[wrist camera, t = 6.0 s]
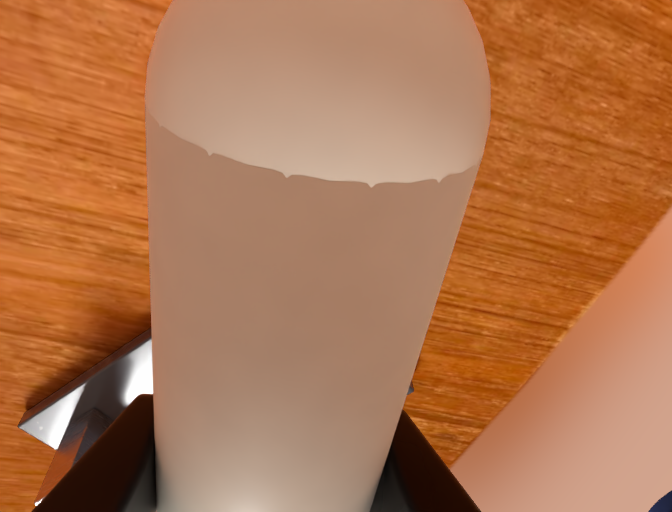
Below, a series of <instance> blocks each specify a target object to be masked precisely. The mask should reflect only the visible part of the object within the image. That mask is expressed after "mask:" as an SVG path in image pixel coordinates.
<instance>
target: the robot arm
mask: <svg viewBox="0 0 672 512" xmlns="http://www.w3.org/2000/svg"><path fill="white" fill-rule="evenodd" d="M156 508H157V505H156V470H155V438H154V403H153V394H140V395H138V396H137V397H136V398H135V399H134V400H133V401H132V402H131V403H130V404H129V405H128V406H127V408H126V409H125V410H124V411H123V412H122V413H121V414H120V415H119V416H118V417H117V418H116V420H115V421H114V422H113V423H112V424H111V425H110V426H109V427H108V428H107V429H106V431H105V432H104V433H103V434H102V435H101V436H100V437H99V438H98V439H97V440H96V442H95V443H94V444H93V445H92V446H91V447H90V448H89V449H88V450H87V451H86V452H85V454H84V455H83V456H82V457H81V458H80V459H79V460H78V461H77V462H76V463H75V465H74V466H73V467H72V468H71V469H70V470H69V471H68V472H67V473H66V474H65V475H64V477H63V478H62V479H61V480H60V481H59V482H58V483H57V484H56V485H55V486H54V488H53V489H52V490H51V491H50V492H49V493H48V494H47V495H46V496H45V497H44V498H43V500H42V501H41V502H40V503H39V504H38V505H37V506H36V507H35V508H34V509H33V511H32V512H156ZM370 512H481V511H480V509H479V508H478V507H477V505H476V504H475V503H474V501H473V500H472V499H471V498H470V496H469V495H468V494H467V492H466V491H465V490H464V488H463V487H462V486H461V484H460V483H459V482H458V480H457V479H456V478H455V477H454V475H453V474H452V473H451V471H450V470H449V469H448V467H447V466H446V465H445V463H444V462H443V461H442V459H441V458H440V457H439V455H438V454H437V453H436V451H435V450H434V449H433V447H432V446H431V445H430V444H429V442H428V441H427V440H426V438H425V437H424V436H423V434H422V433H421V432H420V430H419V429H418V428H417V426H416V425H415V424H414V422H413V421H412V420H411V419H410V417H409V416H408V415H407V413H406V412H405V411H404V410H403V409H402V411H401V415H400V418H399V421H398V424H397V427H396V430H395V434H394V437H393V440H392V443H391V446H390V449H389V452H388V456H387V459H386V462H385V465H384V468H383V471H382V474H381V478H380V481H379V484H378V487H377V490H376V493H375V496H374V500H373V503H372V506H371V509H370Z"/></svg>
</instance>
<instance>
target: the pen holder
mask: <svg viewBox="0 0 672 512" xmlns="http://www.w3.org/2000/svg"><path fill="white" fill-rule="evenodd" d="M413 391H414V387H413V384H412V380H411V383H410V386H409V389H408V393H407V395H408V394H410V393H412V392H413ZM140 394H153V368H152V332H151V328H150V329H148V330H147V331H145V332H144V333H142V334H141V335H139V336H138V337H136V338H135V339H133V340H132V341H130V342H129V343H127V344H126V345H124V346H123V347H121V348H120V349H118V350H117V351H115V352H114V353H112V354H111V355H110V356H108V357H107V358H105V359H104V360H102V361H101V362H99V363H98V364H96V365H95V366H93V367H92V368H90V369H89V370H87V371H86V372H84V373H83V374H81V375H80V376H78V377H77V378H75V379H74V380H72V381H71V382H70V383H68V384H67V385H65V386H64V387H62V388H61V389H59V390H58V391H56V392H55V393H53V394H52V395H50V396H49V397H47V398H46V399H44V400H43V401H41V402H40V403H38V404H37V405H35V406H34V407H32V408H31V409H29V410H28V411H27V412H25V413H24V415H23V417H22V419H21V420H20V422H19V424H18V428H20V429H22V430H23V431H25V432H27V433H28V434H30V435H32V436H33V437H35V438H37V439H38V440H40V441H42V442H43V443H45V444H47V445H48V446H50V447H52V448H53V449H55V450H57V451H56V453H55V456H54V458H53V460H52V463H51V465H50V467H49V470H48V472H47V474H46V476H45V479H44V481H43V483H42V486H41V488H40V490H39V493H38V495H37V497H36V499H35V502H34V504H35V505H38V504H39V503H40V502H41V501H42V500H43V498H44V497H45V496H46V495H47V494H48V493H49V492H50V491H51V490H52V489H53V488H54V486H55V485H56V484H57V483H58V482H59V481H60V480H61V479H62V478H63V477H64V475H65V474H66V473H67V472H68V471H69V470H70V469H71V468H72V467H73V466H74V465H75V463H76V462H77V461H78V460H79V459H80V458H81V457H82V456H83V455H84V454H85V452H86V451H87V450H88V449H89V448H90V447H91V446H92V445H93V444H94V443H95V442H96V440H97V439H98V438H99V437H100V436H101V435H102V434H103V433H104V432H105V431H106V429H107V428H108V427H109V426H110V425H111V424H112V423H113V422H114V421H115V420H116V418H117V417H118V416H119V415H120V414H121V413H122V412H123V411H124V410H125V409H126V408H127V406H128V405H129V404H130V403H131V402H132V401H133V400H134V399H135V398H136V397H137V396H138V395H140ZM156 510H157V508H156Z"/></svg>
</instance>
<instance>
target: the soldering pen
mask: <svg viewBox="0 0 672 512" xmlns="http://www.w3.org/2000/svg"><path fill="white" fill-rule="evenodd" d="M490 88H491V83H490V76H489V71H488V66H487V61H486V56H485V51H484V46H483V41H482V39H481V36H480V34H479V32H478V29H477V27H476V25H475V22H474V20H473V18H472V15H471V13H470V11H469V8H468V6H467V5H466V4H465V2H464V1H463V0H173V1H172V3H171V4H170V6H169V8H168V10H167V12H166V14H165V15H164V17H163V19H162V21H161V23H160V25H159V26H158V30H157V33H156V36H155V40H154V43H153V46H152V50H151V53H150V57H149V60H148V64H147V77H146V90H145V122H146V157H147V192H148V227H149V262H150V297H151V332H152V368H153V403H154V438H155V470H156V505H157V512H370V509H371V506H372V503H373V500H374V496H375V493H376V490H377V487H378V484H379V481H380V478H381V474H382V471H383V468H384V465H385V462H386V459H387V456H388V452H389V449H390V446H391V443H392V440H393V437H394V434H395V430H396V427H397V424H398V421H399V418H400V415H401V411H402V408H403V405H404V402H405V399H406V396H407V393H408V389H409V386H410V383H411V380H412V377H413V374H414V371H415V367H416V364H417V361H418V358H419V355H420V352H421V349H422V345H423V342H424V339H425V336H426V333H427V330H428V326H429V323H430V320H431V317H432V314H433V311H434V308H435V304H436V301H437V298H438V295H439V292H440V289H441V286H442V282H443V279H444V276H445V273H446V270H447V267H448V264H449V260H450V257H451V254H452V251H453V248H454V245H455V241H456V238H457V235H458V232H459V229H460V226H461V223H462V219H463V216H464V213H465V210H466V207H467V204H468V201H469V197H470V194H471V191H472V188H473V185H474V182H475V179H476V175H477V172H478V169H479V166H480V163H481V160H482V156H483V153H484V148H485V143H486V139H487V134H488V129H489V124H490Z"/></svg>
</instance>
